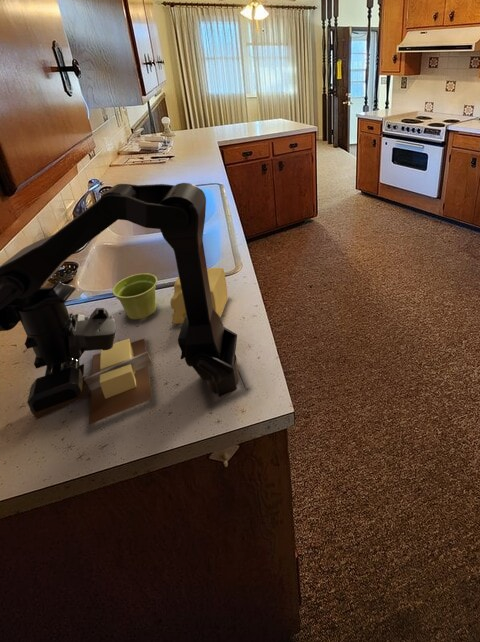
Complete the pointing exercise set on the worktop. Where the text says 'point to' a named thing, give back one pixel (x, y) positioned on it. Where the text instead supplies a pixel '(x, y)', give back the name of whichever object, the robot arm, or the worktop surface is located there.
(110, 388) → the butter slice
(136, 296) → the plant pot
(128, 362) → the knife
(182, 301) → the cheese
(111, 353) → the butter
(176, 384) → the worktop surface
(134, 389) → the board
